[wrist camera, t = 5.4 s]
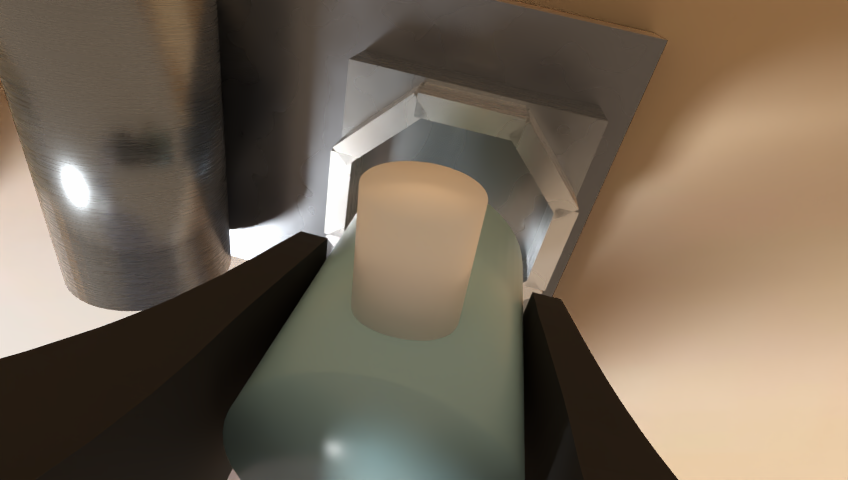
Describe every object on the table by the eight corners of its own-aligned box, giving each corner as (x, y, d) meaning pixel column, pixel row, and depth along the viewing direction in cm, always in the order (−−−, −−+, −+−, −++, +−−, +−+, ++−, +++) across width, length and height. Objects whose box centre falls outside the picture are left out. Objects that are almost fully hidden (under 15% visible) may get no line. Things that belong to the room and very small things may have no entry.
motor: (533, 311, 19) (538, 451, 14) (132, 205, 20) (-13, 297, 15) (658, 21, 13) (759, 64, 8) (72, -114, 14) (-219, -162, 8)
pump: (499, 348, 12) (486, 586, 8) (341, 312, 12) (236, 519, 8) (571, 123, 9) (628, 305, 4) (352, 82, 9) (181, 207, 5)
